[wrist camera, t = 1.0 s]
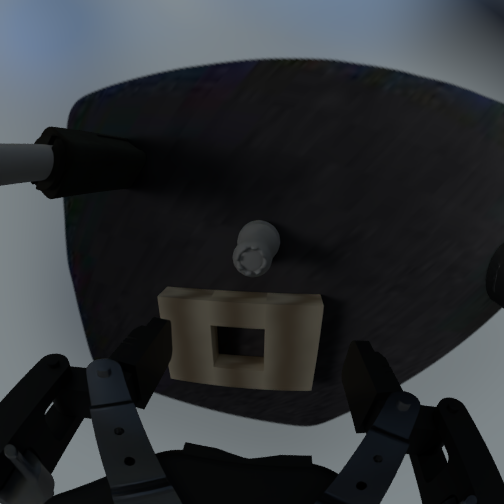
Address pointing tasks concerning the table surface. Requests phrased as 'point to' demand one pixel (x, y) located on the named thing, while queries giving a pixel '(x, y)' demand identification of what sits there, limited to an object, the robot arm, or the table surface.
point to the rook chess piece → (256, 248)
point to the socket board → (243, 316)
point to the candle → (72, 163)
